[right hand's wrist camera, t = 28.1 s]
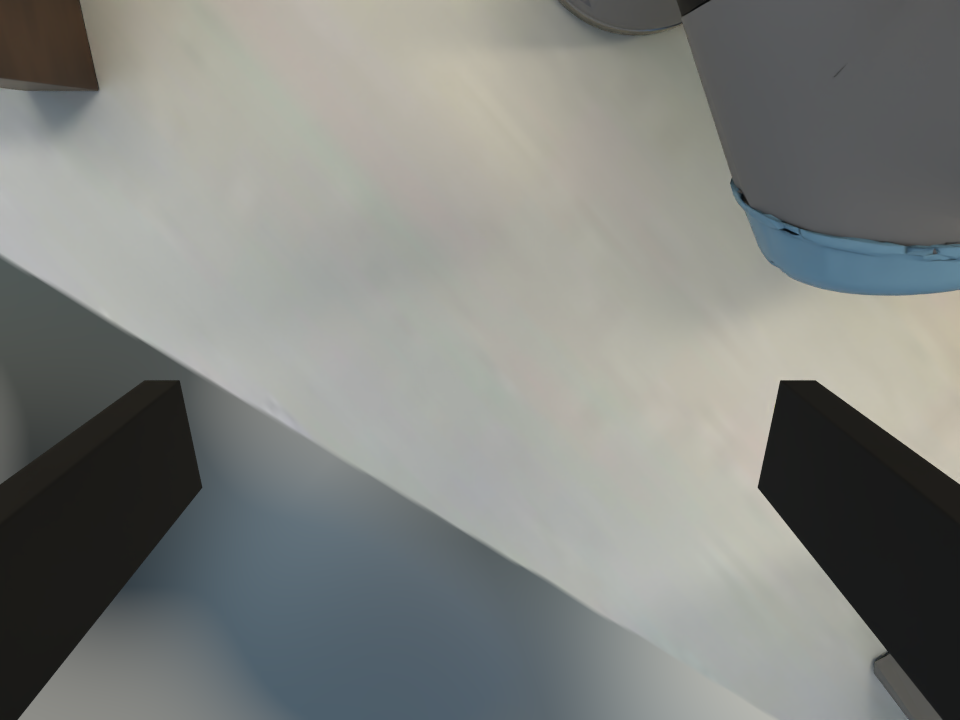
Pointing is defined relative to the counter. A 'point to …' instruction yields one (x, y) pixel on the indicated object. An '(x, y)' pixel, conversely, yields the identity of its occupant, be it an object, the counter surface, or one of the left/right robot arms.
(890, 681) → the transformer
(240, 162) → the counter surface
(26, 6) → the walnut box
